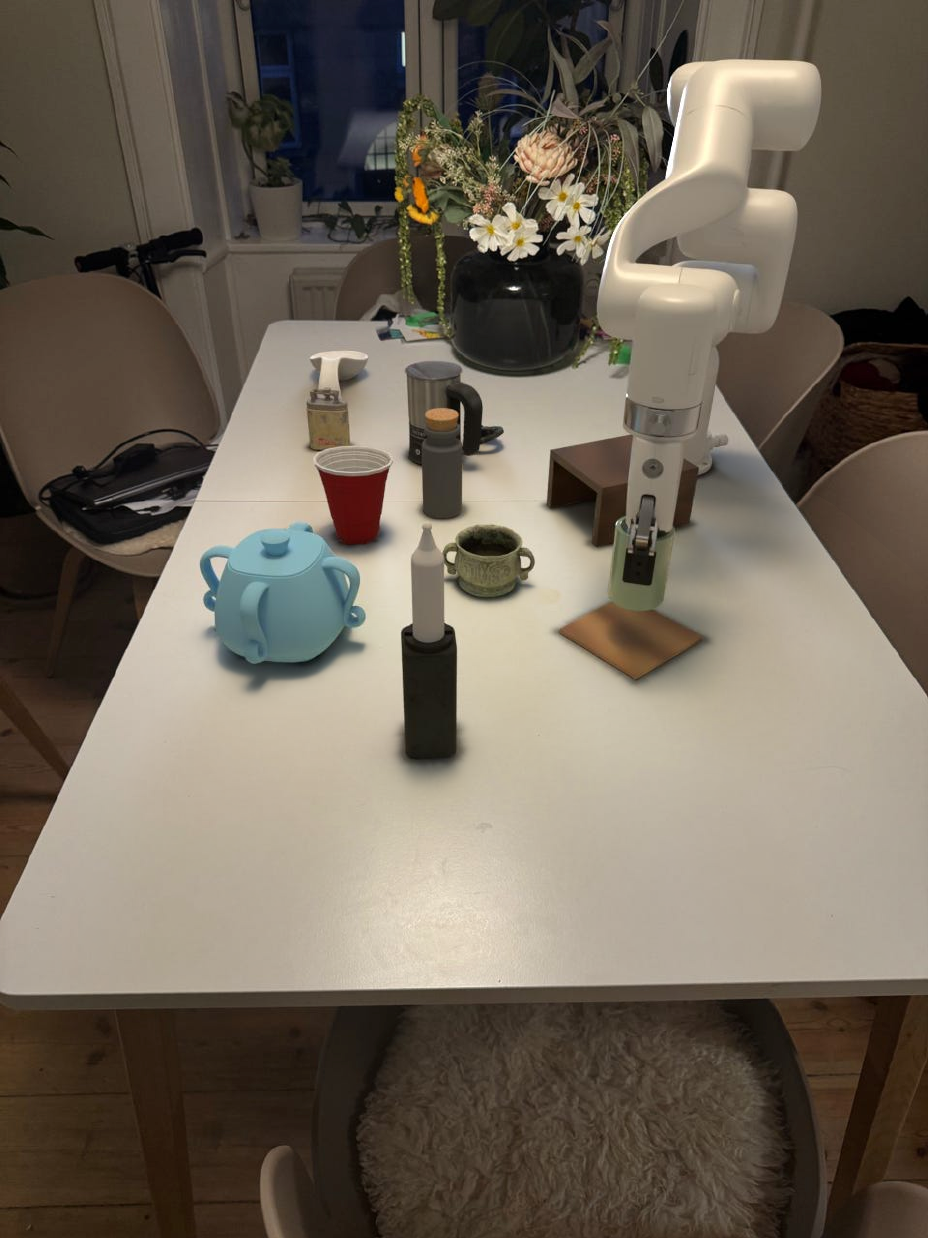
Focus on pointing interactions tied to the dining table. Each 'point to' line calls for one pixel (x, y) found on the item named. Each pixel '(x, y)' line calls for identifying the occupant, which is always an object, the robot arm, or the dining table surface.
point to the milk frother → (444, 405)
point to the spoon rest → (337, 368)
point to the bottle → (442, 464)
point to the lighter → (327, 420)
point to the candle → (429, 659)
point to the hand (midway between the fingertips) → (640, 565)
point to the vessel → (488, 560)
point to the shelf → (607, 483)
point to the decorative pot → (281, 595)
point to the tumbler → (638, 594)
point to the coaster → (630, 638)
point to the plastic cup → (354, 489)
